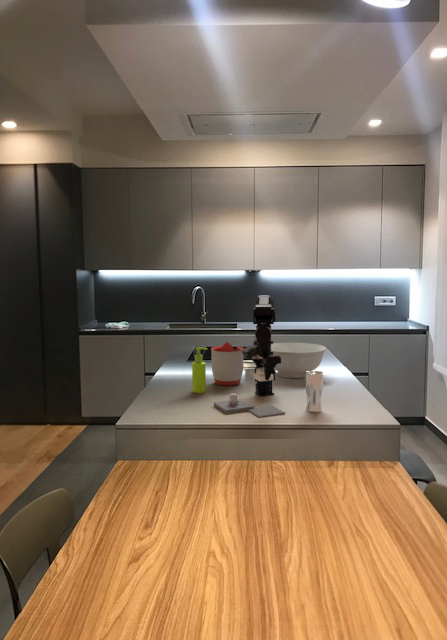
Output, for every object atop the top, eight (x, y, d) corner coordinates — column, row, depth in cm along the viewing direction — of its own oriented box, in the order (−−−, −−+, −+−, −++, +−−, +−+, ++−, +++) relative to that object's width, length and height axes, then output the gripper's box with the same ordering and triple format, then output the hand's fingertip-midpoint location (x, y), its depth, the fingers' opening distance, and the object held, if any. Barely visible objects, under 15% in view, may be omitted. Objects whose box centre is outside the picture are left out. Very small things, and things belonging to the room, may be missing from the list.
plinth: (241, 402, 209) (240, 389, 209) (253, 410, 198) (253, 396, 198) (213, 405, 205) (213, 392, 204) (225, 413, 194) (225, 399, 193)
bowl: (307, 366, 279) (307, 340, 278) (337, 379, 249) (338, 349, 247) (252, 371, 270) (252, 343, 268) (277, 384, 239) (277, 354, 237)
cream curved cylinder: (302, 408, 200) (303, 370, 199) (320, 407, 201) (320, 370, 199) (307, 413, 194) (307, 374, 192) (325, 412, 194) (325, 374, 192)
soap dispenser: (206, 393, 224) (205, 348, 222) (191, 392, 226) (190, 348, 224) (209, 390, 230) (208, 346, 228) (194, 389, 231) (193, 346, 229)
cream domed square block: (254, 378, 196) (253, 367, 196) (267, 377, 198) (267, 366, 198) (260, 381, 191) (260, 370, 191) (273, 380, 193) (273, 368, 193)
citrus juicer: (250, 380, 249) (250, 339, 246) (236, 388, 233) (235, 345, 231) (221, 377, 255) (220, 338, 253) (205, 385, 239) (205, 343, 237)
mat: (271, 406, 203) (271, 405, 203) (285, 413, 193) (285, 412, 193) (246, 409, 199) (246, 408, 199) (259, 417, 189) (259, 416, 189)
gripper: (234, 336, 199) (235, 375, 200) (254, 343, 181) (254, 385, 183) (260, 334, 203) (260, 373, 204) (282, 341, 185) (282, 383, 187)
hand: (263, 378), depth 195 cm, fingers closed on cream domed square block, 6 cm apart
